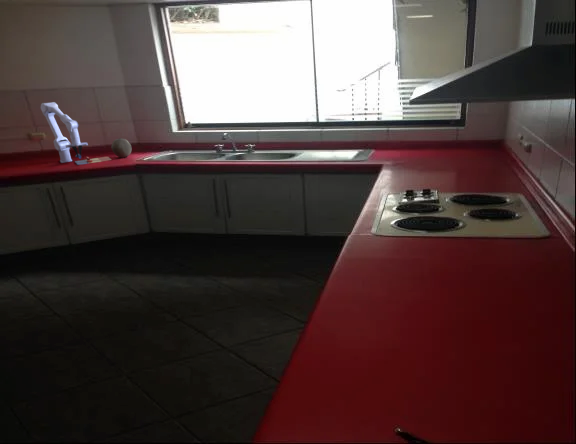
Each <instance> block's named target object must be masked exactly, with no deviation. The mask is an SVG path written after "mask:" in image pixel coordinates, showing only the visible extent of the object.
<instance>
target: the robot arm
mask: <svg viewBox="0 0 576 444" xmlns="http://www.w3.org/2000/svg"><path fill="white" fill-rule="evenodd" d="M40 110H41V112H42V115H43V116H44V117H45V119H46V121H47V124H48V125H49V128H50V130H51V132H52V134H53V136H54V138H55V139H54V140H53V145H54V149H55V150H56V151H57V152H58V154H59V158H60V160H59V162H60V163H61V164H63V163H69V162H73V159H72V156H71V153H70V150H71V148H72V149H73V151H74V152H75V154H76V155H77V156H78V154H80V155H81V156H82V149H83V146H89V144H88V142H87V141H86V142H81V138H80V134H79V123H78V121H77V120H75V119H72V118H71V117H70V116H69V115H68V114H66V113H65V114H64V113H63V111H61V109H60V108H59V105H58V104H57V103H56V102H55V101H52V102H42V103H41V104H40ZM55 115H56V116H58V117H59V119H60V121H61V122H62V123H63V124H64V125H65V127H66V129H67V131H68V133H69V137H70V141H71V142H70V141H69V140H68V138H67V137H66V136H63V133H62V131H61V129H60V126H59V125H58V123H57V120H56V118H55Z"/></svg>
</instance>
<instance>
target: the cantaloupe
mask: <svg viewBox="0 0 576 444" xmlns="http://www.w3.org/2000/svg"><path fill="white" fill-rule="evenodd" d="M111 150H112V152H113V154H114V155H115V156H117V158H119V159H120V158H121V159H123V158H128V157H129V156H130V155H131V154H132V145H131V143H130V142H129V140H127V139H126V138H116V139H114V140H113V141H112V143H111Z"/></svg>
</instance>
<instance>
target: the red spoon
mask: <svg viewBox="0 0 576 444" xmlns="http://www.w3.org/2000/svg"><path fill="white" fill-rule="evenodd" d="M90 159H91V158H90V157H89V156H86V160H87V163H88V164H91V163H90V162H93V160H90Z"/></svg>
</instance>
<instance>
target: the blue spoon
mask: <svg viewBox="0 0 576 444" xmlns="http://www.w3.org/2000/svg"><path fill="white" fill-rule="evenodd" d="M75 158H78V159H79V160H82V154H81V155H80V154H79V153H78V156H77V154H76V155H75Z"/></svg>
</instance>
